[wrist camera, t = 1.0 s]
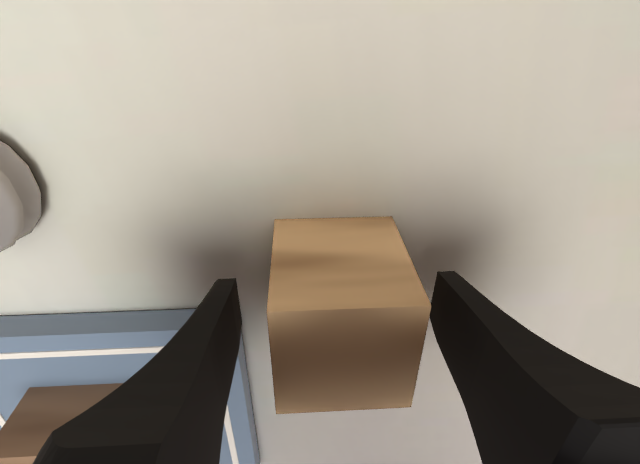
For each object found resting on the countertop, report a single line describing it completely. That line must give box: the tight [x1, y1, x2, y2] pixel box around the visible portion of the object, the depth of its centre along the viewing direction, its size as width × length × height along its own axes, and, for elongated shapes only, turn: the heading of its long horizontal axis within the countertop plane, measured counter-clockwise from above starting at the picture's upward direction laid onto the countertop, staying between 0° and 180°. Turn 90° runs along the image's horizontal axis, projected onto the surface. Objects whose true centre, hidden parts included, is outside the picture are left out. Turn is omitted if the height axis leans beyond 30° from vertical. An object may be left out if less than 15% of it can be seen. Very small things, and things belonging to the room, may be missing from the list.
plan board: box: [0, 309, 260, 464], centre depth 17 cm, size 12×12×4 cm
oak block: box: [267, 216, 431, 414], centre depth 14 cm, size 4×4×5 cm
